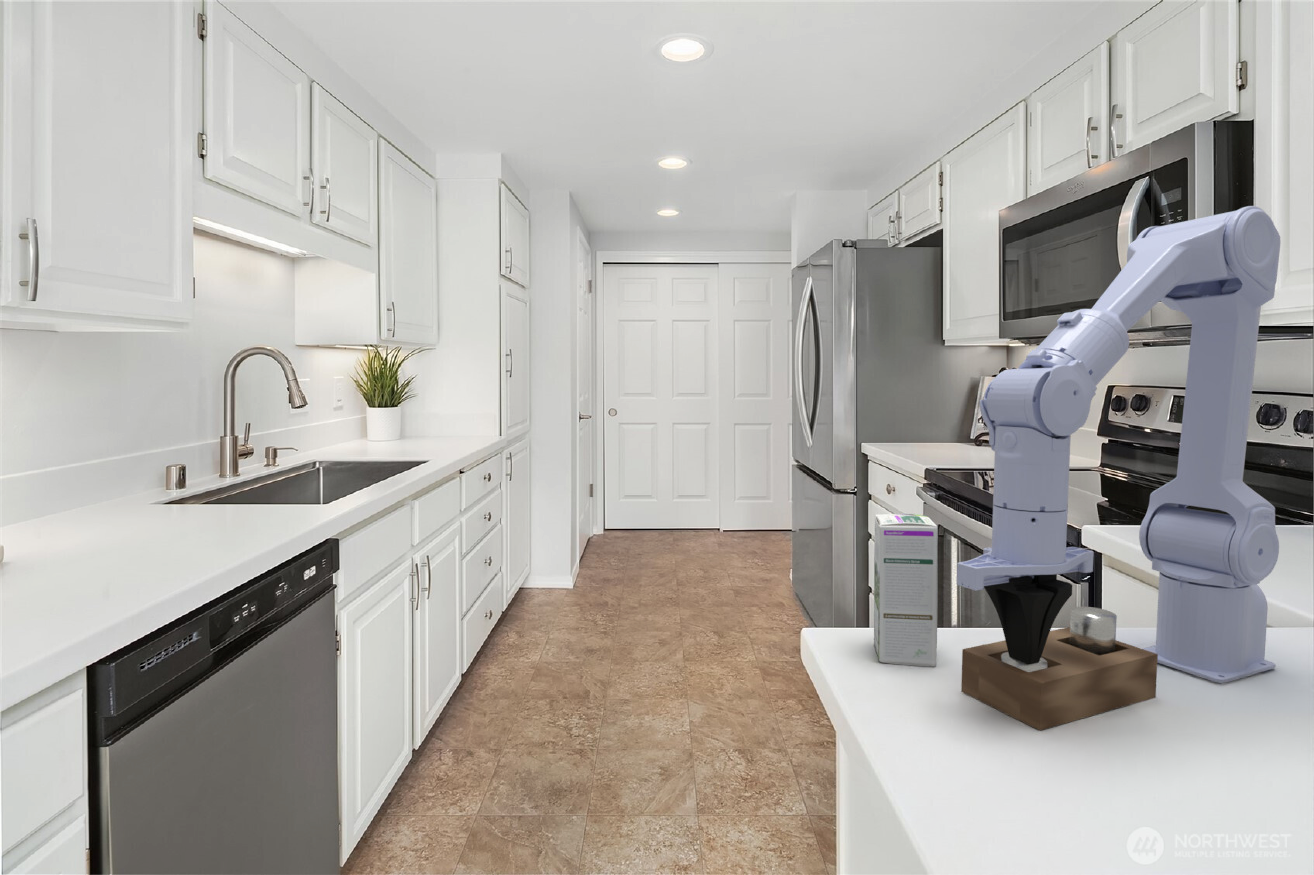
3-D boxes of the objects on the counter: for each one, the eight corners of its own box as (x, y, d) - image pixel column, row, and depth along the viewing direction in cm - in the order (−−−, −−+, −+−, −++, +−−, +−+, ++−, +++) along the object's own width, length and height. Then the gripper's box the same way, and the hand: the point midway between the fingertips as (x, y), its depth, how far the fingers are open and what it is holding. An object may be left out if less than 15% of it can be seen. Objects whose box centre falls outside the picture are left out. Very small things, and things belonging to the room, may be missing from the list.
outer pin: (1019, 689, 64) (1020, 649, 64) (1055, 705, 61) (1057, 663, 60) (990, 696, 62) (992, 655, 62) (1026, 713, 59) (1027, 670, 59)
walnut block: (1071, 665, 70) (1073, 626, 70) (1155, 697, 63) (1157, 654, 62) (961, 691, 64) (962, 649, 64) (1039, 730, 57) (1041, 682, 56)
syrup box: (938, 668, 69) (942, 524, 68) (876, 663, 71) (879, 522, 70) (927, 647, 75) (931, 514, 74) (870, 643, 76) (873, 512, 75)
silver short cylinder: (1086, 643, 67) (1087, 604, 67) (1123, 656, 64) (1125, 615, 64) (1060, 648, 66) (1062, 609, 66) (1097, 662, 63) (1099, 621, 62)
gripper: (1045, 494, 67) (1040, 633, 68) (930, 505, 61) (926, 656, 62) (1119, 506, 60) (1112, 658, 61) (999, 519, 55) (993, 687, 56)
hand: (1023, 659), depth 61 cm, fingers closed, pressing on outer pin
